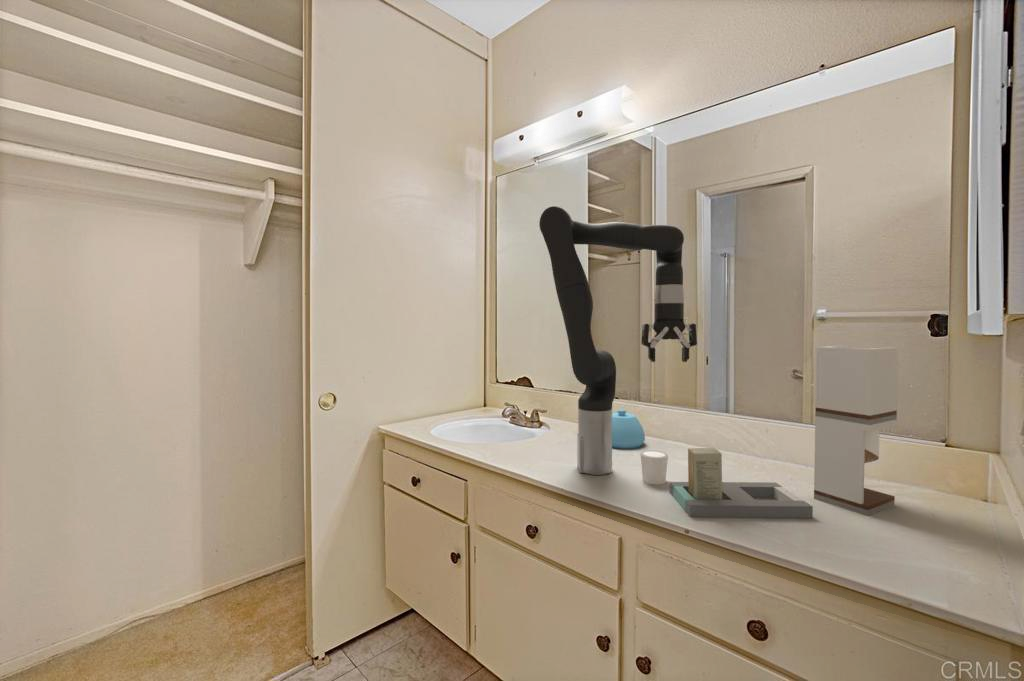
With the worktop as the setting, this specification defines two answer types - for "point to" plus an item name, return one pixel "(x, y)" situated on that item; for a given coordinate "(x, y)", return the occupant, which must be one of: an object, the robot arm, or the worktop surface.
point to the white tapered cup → (654, 466)
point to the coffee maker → (852, 422)
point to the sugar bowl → (626, 430)
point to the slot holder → (744, 501)
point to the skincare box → (705, 473)
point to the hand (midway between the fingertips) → (668, 361)
